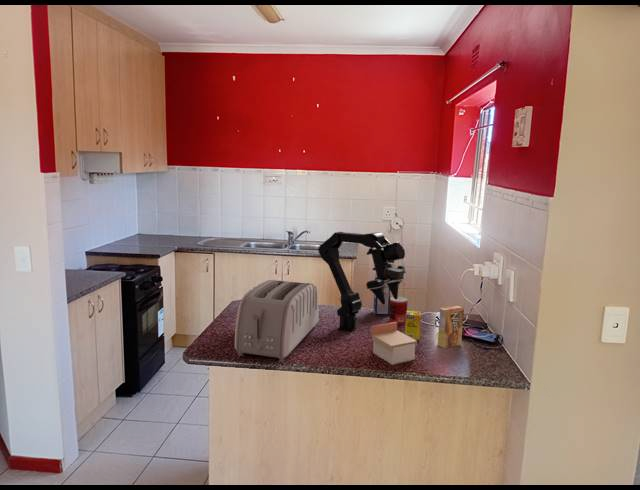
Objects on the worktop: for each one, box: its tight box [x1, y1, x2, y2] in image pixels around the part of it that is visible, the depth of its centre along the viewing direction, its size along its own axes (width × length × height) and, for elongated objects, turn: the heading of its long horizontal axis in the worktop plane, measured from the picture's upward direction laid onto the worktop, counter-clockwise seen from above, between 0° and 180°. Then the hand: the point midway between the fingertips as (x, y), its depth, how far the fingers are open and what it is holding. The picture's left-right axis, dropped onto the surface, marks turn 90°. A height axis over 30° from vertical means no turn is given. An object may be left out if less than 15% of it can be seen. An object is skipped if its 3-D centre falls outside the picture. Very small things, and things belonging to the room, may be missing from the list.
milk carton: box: [372, 270, 391, 317], centre depth 223 cm, size 7×7×20 cm
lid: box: [370, 322, 418, 352], centre depth 175 cm, size 13×11×5 cm
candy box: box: [437, 305, 465, 349], centre depth 186 cm, size 9×4×15 cm, turn 116°
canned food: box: [388, 296, 408, 326], centre depth 212 cm, size 8×8×11 cm
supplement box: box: [404, 310, 422, 342], centre depth 193 cm, size 6×6×11 cm
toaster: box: [234, 279, 320, 364], centre depth 186 cm, size 21×45×22 cm, turn 163°
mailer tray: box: [372, 341, 416, 366], centre depth 175 cm, size 12×10×6 cm
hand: (390, 301), depth 189 cm, fingers open, 9 cm apart
